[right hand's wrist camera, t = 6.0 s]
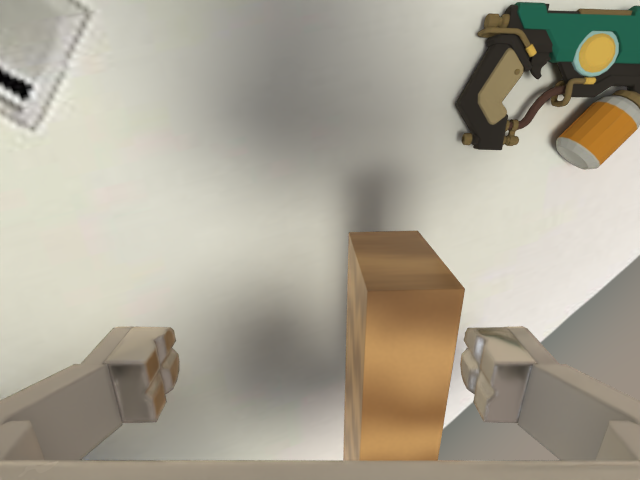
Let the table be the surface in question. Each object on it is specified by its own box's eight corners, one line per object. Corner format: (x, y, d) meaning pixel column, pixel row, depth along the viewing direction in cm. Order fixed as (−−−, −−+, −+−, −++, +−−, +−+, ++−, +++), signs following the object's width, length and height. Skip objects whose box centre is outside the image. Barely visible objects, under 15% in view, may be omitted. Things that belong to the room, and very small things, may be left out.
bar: (348, 231, 26) (367, 291, 18) (418, 230, 26) (465, 288, 18) (343, 466, 35) (354, 572, 27) (395, 463, 35) (420, 568, 27)
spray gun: (431, 134, 35) (504, -48, 30) (589, 187, 36) (681, 22, 32) (445, 137, 31) (532, -72, 26) (622, 197, 32) (733, 9, 28)
